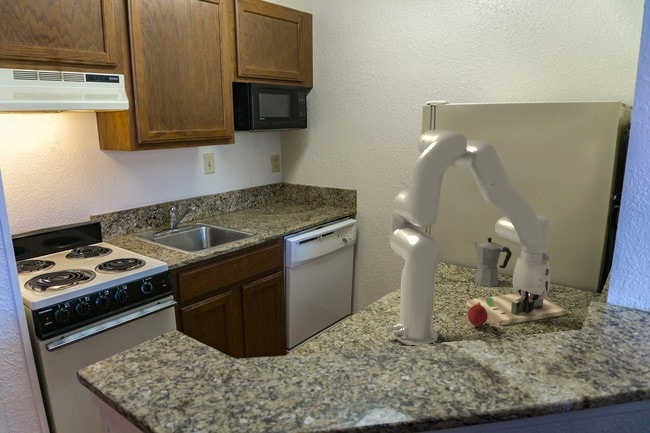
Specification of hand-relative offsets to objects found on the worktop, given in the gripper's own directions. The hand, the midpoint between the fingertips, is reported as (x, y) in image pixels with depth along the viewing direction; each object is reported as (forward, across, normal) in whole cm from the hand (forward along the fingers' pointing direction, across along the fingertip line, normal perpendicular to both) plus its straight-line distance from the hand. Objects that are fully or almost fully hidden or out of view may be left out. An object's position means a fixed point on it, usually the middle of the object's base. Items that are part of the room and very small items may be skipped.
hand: (527, 311), depth 146 cm
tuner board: (+3, +7, -5) cm, 9 cm away
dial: (+1, +3, -5) cm, 6 cm away
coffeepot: (+3, +26, -19) cm, 32 cm away
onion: (+3, +7, +16) cm, 18 cm away
